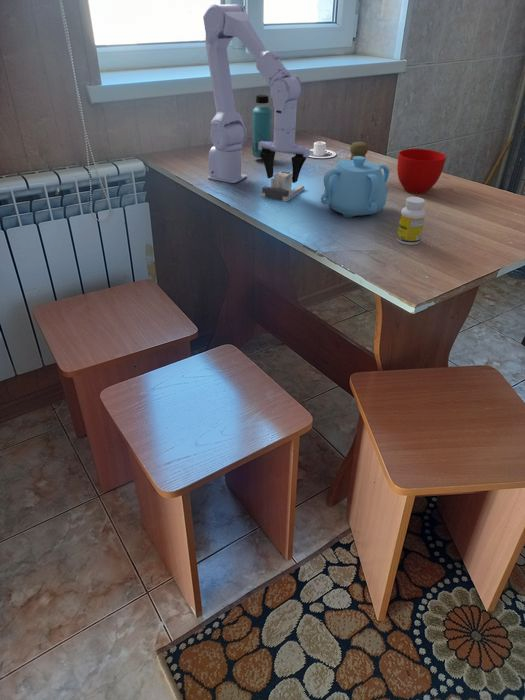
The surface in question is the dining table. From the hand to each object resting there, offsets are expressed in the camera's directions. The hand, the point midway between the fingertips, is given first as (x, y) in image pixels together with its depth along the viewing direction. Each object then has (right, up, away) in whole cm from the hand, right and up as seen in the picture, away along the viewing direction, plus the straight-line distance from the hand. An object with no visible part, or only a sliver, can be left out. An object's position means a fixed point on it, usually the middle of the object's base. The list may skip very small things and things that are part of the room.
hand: (282, 179), depth 143 cm
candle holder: (+14, +21, +38) cm, 45 cm away
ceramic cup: (+41, 0, +8) cm, 41 cm away
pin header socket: (0, -3, +2) cm, 4 cm away
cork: (+23, +4, +14) cm, 27 cm away
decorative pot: (+18, -11, -8) cm, 23 cm away
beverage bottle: (-6, +16, +30) cm, 35 cm away
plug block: (0, -3, +2) cm, 4 cm away
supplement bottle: (+28, -22, -24) cm, 43 cm away
